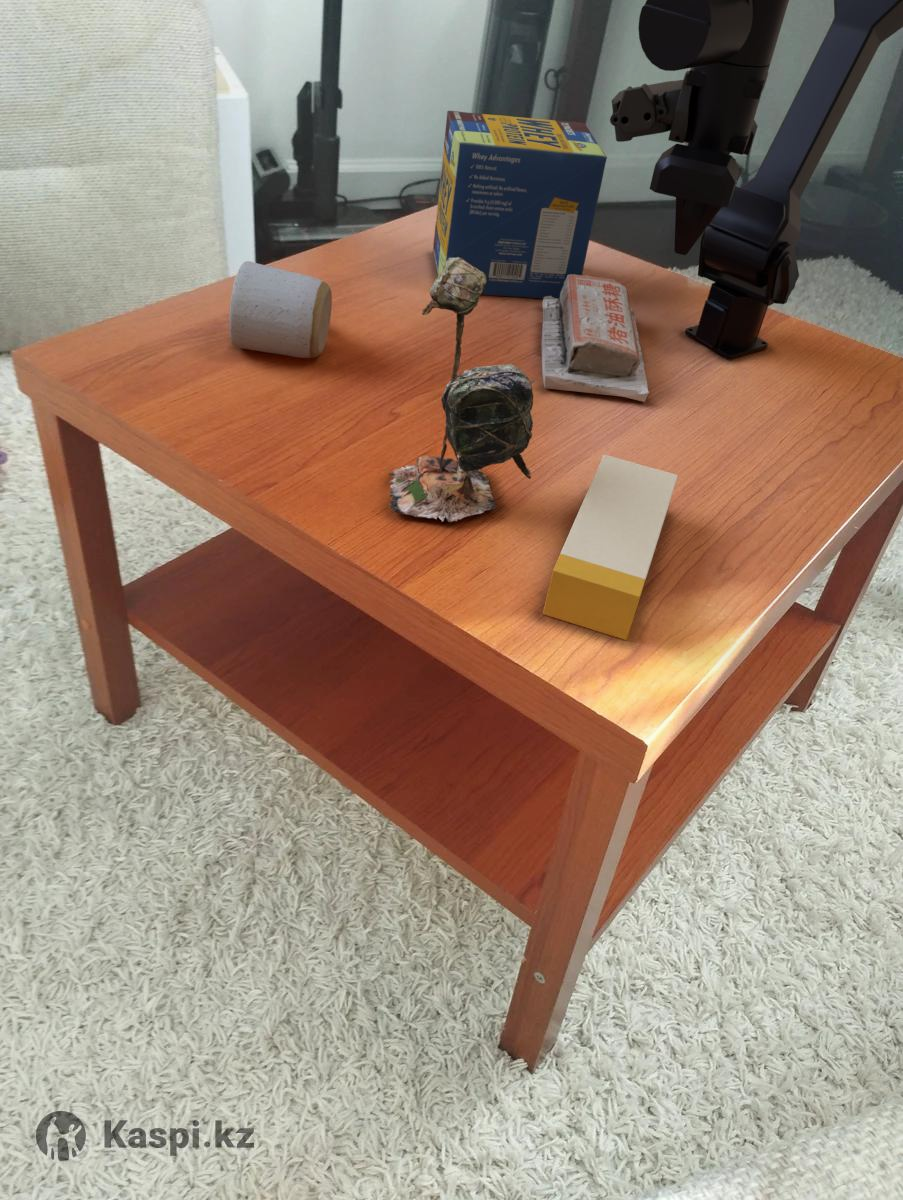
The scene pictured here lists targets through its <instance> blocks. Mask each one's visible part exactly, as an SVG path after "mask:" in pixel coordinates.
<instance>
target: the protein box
mask: <svg viewBox="0 0 903 1200" xmlns="http://www.w3.org/2000/svg"><path fill="white" fill-rule="evenodd" d="M443 141H444V142H443V152H442V161H441V170H440V181H439V189H438V190H439V191H438V197H437V198H438V200H437V208H436V217H435V227H434V236H433V247H432V255H433V259H434V264H435V270H436V274H437V277H438V276H439V275H440V274H441V273H442V270H443V267H444V265H445V262H446V261H447V259H448V258H450V257H453V258H455V257H459V258H462V259H463V260H465V261H466V262H468V263H469V264H470V265H472V266H473V267H476V268H477V269H478V270H480V271H481V272H483V273H484V274H485V276H486V284H485V287H484V290H483V291H482V293H481V294H480V295H483V296H499V297H511V298H513V297H516V298H526V299H527V298H528V299H542V300H543V297H546V296H552V297H553V298H557V299H558V298H559V297H560V293H561V290H562V287H563V286H564V281H565V280H566V278H567V275H570V274H575V275H583V273H584V268H585V263H586V258H587V254H588V249H589V245H590V239H591V235H592V230H593V225H594V220H595V215H596V211H597V206H598V201H599V197H600V192H601V187H602V183H603V178H604V173H605V168H606V164H607V163H606V162H607V159H608V156H607V155H606V154H605V151H603V149H602V147H601V146H600V144H599V143H598V142H597V140H596V138H595V137H594V135H593V134H592V132H591V131H590V129H589V127H588V126H587V124H586V123H585V122H580V121H567V120H554V119H542V118H534V117H533V118H532V117H521V116H520V117H519V116H511V115H500V114H486V113H477V112H467V111H457V110H447V112H446V122H445V131H444V140H443Z"/></svg>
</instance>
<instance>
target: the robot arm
mask: <svg viewBox="0 0 903 1200" xmlns="http://www.w3.org/2000/svg"><path fill="white" fill-rule="evenodd" d="M789 2H790V0H646V1H645V3H644V5H642V7H641V9H640V13H639V17H638V28H637V29H638V38H639V43H640V46H641V49H642V51H643V53H644V56H645V58H647V60H648V61H649V62H650V64H652V65H653V66H655V68H658V69H659V70H662V71H665V72H676V71H681V70H686V72H685V74H684V77H683V79H679V80H678V79H677V80H669V81H668V80H667V81H663V82H657V83H651V84H647V83H643V84H642V85H640V86H635V87H632V86H631V85H630V86H627V88H626V89H623V90H620V91H618V92H617V94H616V95H615V96H614V97H613V98H612V99H611V109H612V114H611V115H610V118H609V123H610V124H611V125H612V126H613V128H614V135H615V140H616V142H619V143H624V142H629V141H632V140H633V138H638V137H646V136H651V135H657V134H664V133H667V132H669V135H668V139H667V140H668V141H669V142H675V144H674V145H672V146H671V147H670V148H667V149H666V150H664V151H663V152H662V153H661V155H660V156H659V158H658V159H657V161H656V162H655V164H654V169H653V171H652V172H653V173H652V176H651V181H650V185H649V190H650V191H652V192H653V193H655V194H661V195H664V196H669V197H673V198H675V218H674V220H675V222H674V246H673V247H674V250H673V251H674V253H675V254H677V255H682V256H686V255H688V254H689V252H690V251H691V249H692V248H693V247H694V245H695V244H696V243H697V241H699V240H698V239H700V247H699V257H698V267H697V276H698V277H700V278H704V279H707V280H709V281H712V282H713V283H711V285H710V288H709V292H708V295H707V299H705V302H704V304H703V308H702V311H701V315H700V318H699V321H698V324H697V325H694V326H690V327H687V328H685V331H684V335H686V336H688V337H689V338H691V339H693V340H695V341H697V342H698V343H699V344H701V345H702V346H705V348H708V349H710V350H711V351H713V352H714V353H716V354H718V355H719V356H722V357H723V358H725V359H727V360H731V359H735V358H739V357H743V356H746V355H750V354H752V353H757V352H759V351H764V350H767V349H768V346H769V342H767V341H765V340H764V339H762V338H760V337H759V334H760V332H761V328H762V325H763V323H764V320H765V317H766V314H767V311H768V309H769V307H770V306H772V305H773V304H774V305H775V304H776V305H777V304H779V305H785V304H787V303H788V300H789V297H790V296H791V294H792V292H793V290H795V287H796V283H797V281H798V280H799V278H800V271H799V265H798V261H797V255H796V250H795V249H796V248H795V247H796V244H797V243H798V240H799V238H800V236H801V233H802V224H801V223H802V222H801V198H802V196H803V194H804V191H806V188H807V186H808V184H809V182H810V180H811V178H812V176H813V174H814V173H815V171H816V169H817V167H818V165H819V163H820V161H821V158H822V157H823V155H824V153H825V151H826V150H827V147H828V145H829V143H830V142H831V139H832V138H833V135H834V134H835V132H836V130H837V128H838V126H839V124H840V122H841V121H842V118H843V117H844V114H845V113H846V111H847V109H848V107H849V105H850V103H851V102H852V99H853V98H854V95H855V93H856V92H857V89H858V88H859V86H860V83H861V82H862V80H863V77H864V76H865V74H866V72H867V70H868V68H869V66H870V65H871V62H872V60H873V58H874V56H875V55H876V52H877V51H878V49H879V48H880V46H881V44H882V43H883V42H884V41H886V40H887V39H889V38H891V36H893V35H894V34H895V33H897V32H898V31H899V30H901V29H902V28H903V0H833V13H834V14H833V15H834V17H833V20H832V22H831V24H830V26H829V29H828V30H827V32H826V35H825V36H824V38H823V40H822V42H821V44H820V46H819V48H818V50H817V52H816V54H815V56H814V58H813V60H812V62H811V64H810V66H809V68H808V70H807V72H806V74H805V76H804V78H803V80H802V82H801V84H800V85H799V88H798V90H797V92H796V94H795V96H794V99H793V100H792V102H791V104H790V106H789V108H788V110H787V112H786V114H785V116H784V118H783V120H782V122H781V124H780V125H779V128H778V130H777V132H776V134H775V136H774V138H773V140H772V142H771V144H770V146H769V148H768V150H767V152H766V154H765V156H764V157H763V160H762V162H761V164H760V166H759V168H758V170H757V172H756V174H755V176H754V177H752V178H750V179H749V180H748V181H747V182H745V183H744V184H743V185H741V186H740V187H739V186H737V184H738V181H739V179H740V176H741V175H742V172H743V169H742V168H741V167H739V166H738V163H737V160H736V159H735V158H734V157H733V155H732V154H737V155H741V156H743V155H746V156H749V155H750V152H751V149H752V146H753V143H754V140H755V136H756V134H757V131H758V126H759V125H758V124H757V122H756V120H755V118H756V114H757V111H758V107H759V103H760V101H761V97H762V94H763V91H764V89H765V87H766V83H767V80H768V76H769V70H770V66H771V64H772V59H773V57H774V52H775V49H776V46H777V42H778V39H779V37H780V33H781V29H782V26H783V23H784V18H785V15H786V12H787V8H788V5H789ZM687 69H689V70H687ZM731 153H732V154H731ZM700 237H701V238H700Z"/></svg>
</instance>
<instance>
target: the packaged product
mask: <svg viewBox="0 0 903 1200" xmlns="http://www.w3.org/2000/svg"><path fill="white" fill-rule="evenodd" d="M628 292H629V291H628V289H627V287H626V286H625V285H624V284H622V283H621V282H618V281H617V279H613V278H605V277H598V276H591V275H585V274H584V275H583V274H582V275H575V274H570V275H567V278H566V280H565V281H564V286H563V287H562V290H561V293H560V297H559V298H558V299H557V298H553V297H552V296H546V297H543V299H542V303H541V305H542V329H541V368H542V369H541V370H542V381H543V388H544V389H549V390H559V391H568V392H569V391H570V392H579V393H586V394H587V393H588V394H594V395H595V394H596V395H605V396H614V397H622V398H626V399H631V400H634V401H639V402H643V403H645V402H646V400H647V398H648V395H649V393H650V392H649V388H648V379H647V376H646V371H645V365H644V357H643V353H642V345H641V344H640V336H639V332H638V331H639V330H638V328H637V320H636V315H635V311H634V310H632V309H631V304H630V298H629V294H628Z"/></svg>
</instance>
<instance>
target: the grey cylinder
mask: <svg viewBox="0 0 903 1200" xmlns="http://www.w3.org/2000/svg"><path fill="white" fill-rule="evenodd" d="M332 295H333V294H332V289H331V287H330V285H329V283H327V282H325V281H323V280H321V279H319V278H317V277H314V276H311V275H307V274H303V273H298V272H293V271H290V270H286V269H283V268H282V269H281V268H279V267H278V268H277V267H274V266H269V265H266V264H261V263H257V262H254V261H250V260H248V261H247V260H246V261H243V263H241V265H240V266H239V268H238V271H237V273H236V275H235V278H234V281H233V285H232V292H231V296H230V305H229V307H230V308H229V325H228V326H229V327H228V328H229V335H230V342H231V344H232V346H234V347H235V348H237V349H243V350H251V351H256V352H262V353H269V354H275V355H283V356H288V357H293V358H299V359H300V358H301V359H314V358H317V357H318V356H320V355H321V354H322V352H323V350H324V348H325V345H326V342H327V337H328V334H329V329H330V325H331V324H330V323H331V315H332V304H333V296H332Z"/></svg>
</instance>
